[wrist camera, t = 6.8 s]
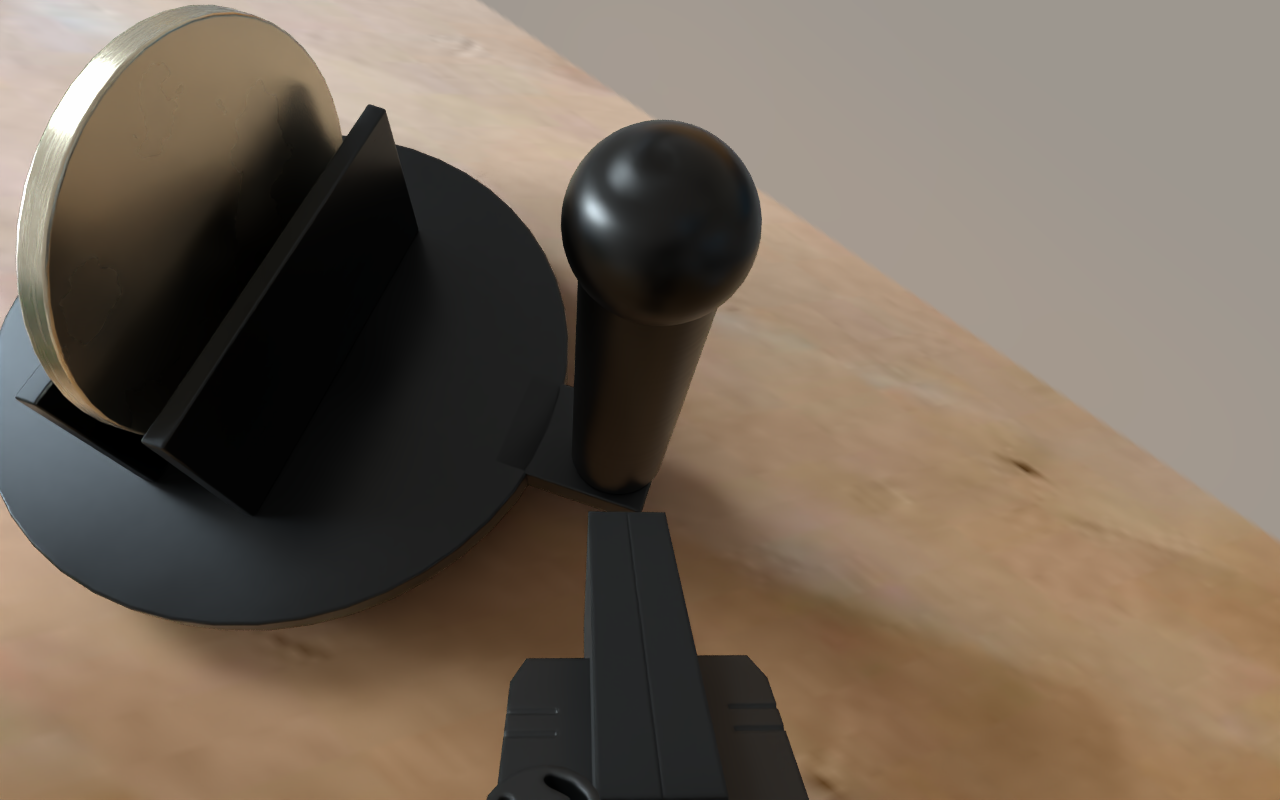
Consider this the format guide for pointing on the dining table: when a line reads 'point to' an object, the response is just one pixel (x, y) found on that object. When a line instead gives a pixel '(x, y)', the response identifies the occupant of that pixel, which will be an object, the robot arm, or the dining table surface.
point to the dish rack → (327, 332)
